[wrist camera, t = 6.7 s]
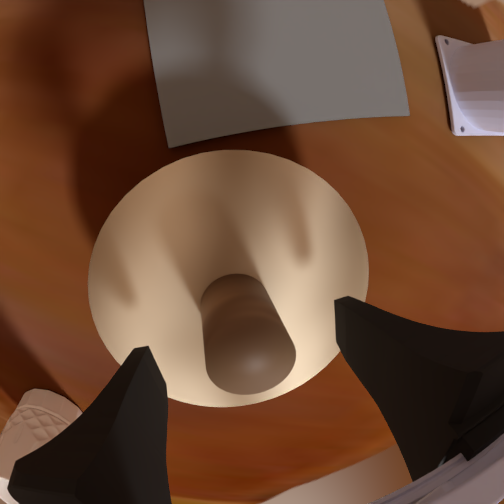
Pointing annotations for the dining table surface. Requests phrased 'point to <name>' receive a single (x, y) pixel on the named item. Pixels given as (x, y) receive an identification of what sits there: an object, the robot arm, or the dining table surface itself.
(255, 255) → the lid
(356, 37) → the mat
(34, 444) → the white cup
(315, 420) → the dining table surface
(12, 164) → the dining table surface
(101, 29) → the dining table surface
